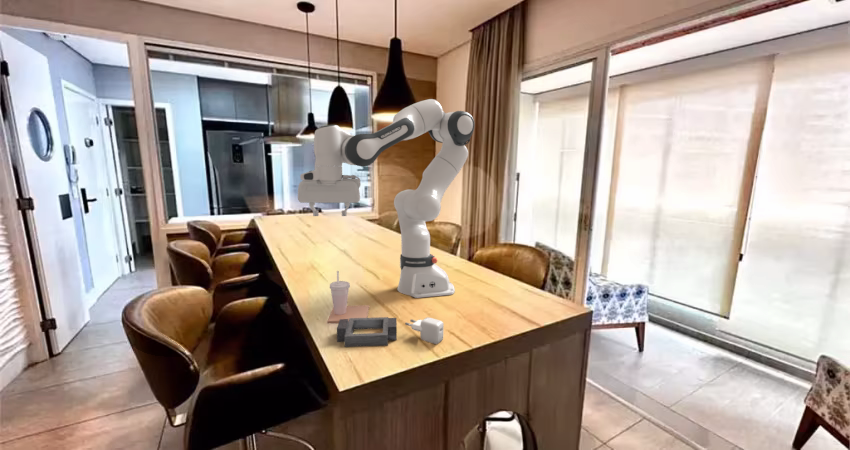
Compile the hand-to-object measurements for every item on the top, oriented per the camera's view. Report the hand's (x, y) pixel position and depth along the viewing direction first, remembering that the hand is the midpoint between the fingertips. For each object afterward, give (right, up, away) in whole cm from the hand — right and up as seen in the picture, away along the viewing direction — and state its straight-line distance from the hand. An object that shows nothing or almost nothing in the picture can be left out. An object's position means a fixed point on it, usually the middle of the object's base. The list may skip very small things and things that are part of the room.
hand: (330, 215), depth 122 cm
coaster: (+8, -33, -5) cm, 34 cm away
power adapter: (+32, -35, -20) cm, 52 cm away
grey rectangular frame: (+16, -35, -19) cm, 43 cm away
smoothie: (+5, -32, -5) cm, 33 cm away
